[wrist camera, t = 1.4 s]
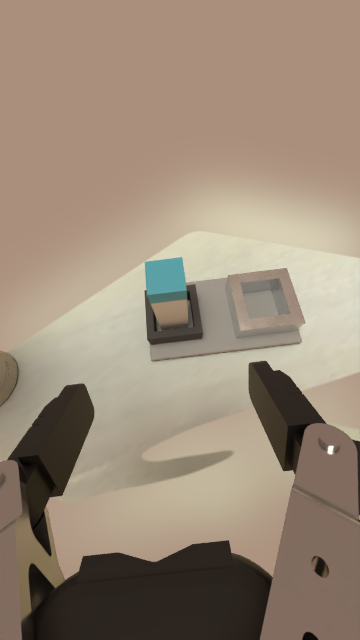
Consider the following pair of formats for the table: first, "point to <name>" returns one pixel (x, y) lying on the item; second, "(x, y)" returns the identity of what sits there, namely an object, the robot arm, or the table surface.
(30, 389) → the table surface
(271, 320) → the port
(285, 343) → the panel
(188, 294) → the dark grey square socket
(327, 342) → the table surface
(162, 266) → the plug
